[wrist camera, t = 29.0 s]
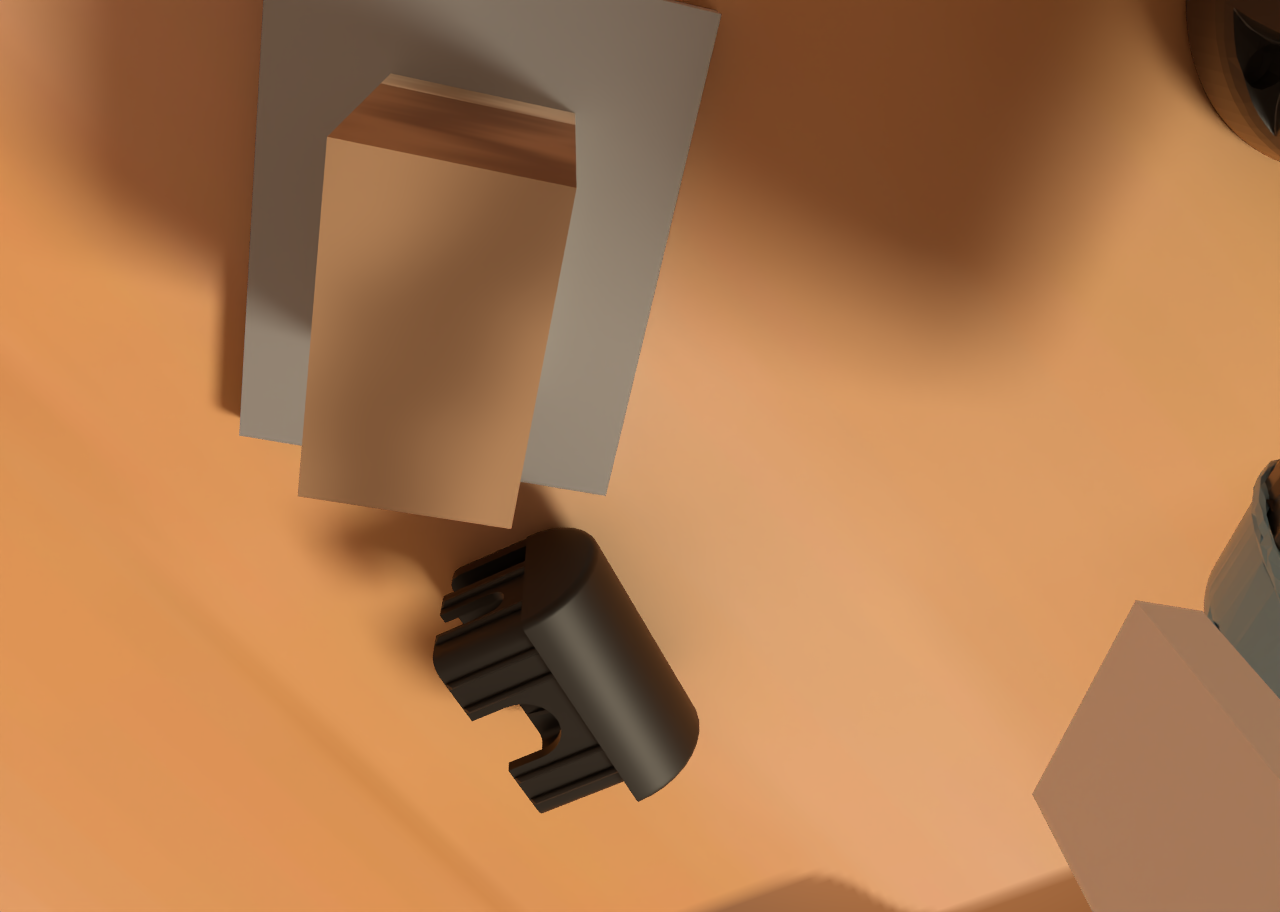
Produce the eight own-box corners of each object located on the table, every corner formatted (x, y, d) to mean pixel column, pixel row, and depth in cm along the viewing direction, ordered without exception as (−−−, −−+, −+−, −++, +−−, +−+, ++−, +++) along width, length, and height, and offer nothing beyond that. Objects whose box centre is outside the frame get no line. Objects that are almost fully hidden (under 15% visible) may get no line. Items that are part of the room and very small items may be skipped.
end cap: (692, 666, 48) (709, 777, 42) (552, 723, 49) (549, 839, 43) (593, 496, 43) (597, 593, 37) (442, 563, 44) (421, 667, 38)
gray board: (716, 10, 35) (721, 14, 33) (604, 480, 43) (605, 495, 42) (278, -96, 32) (268, -95, 31) (247, 421, 40) (239, 435, 39)
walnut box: (511, 528, 30) (524, 385, 39) (576, 188, 26) (575, 113, 35) (297, 496, 29) (360, 357, 38) (327, 136, 25) (390, 73, 34)
